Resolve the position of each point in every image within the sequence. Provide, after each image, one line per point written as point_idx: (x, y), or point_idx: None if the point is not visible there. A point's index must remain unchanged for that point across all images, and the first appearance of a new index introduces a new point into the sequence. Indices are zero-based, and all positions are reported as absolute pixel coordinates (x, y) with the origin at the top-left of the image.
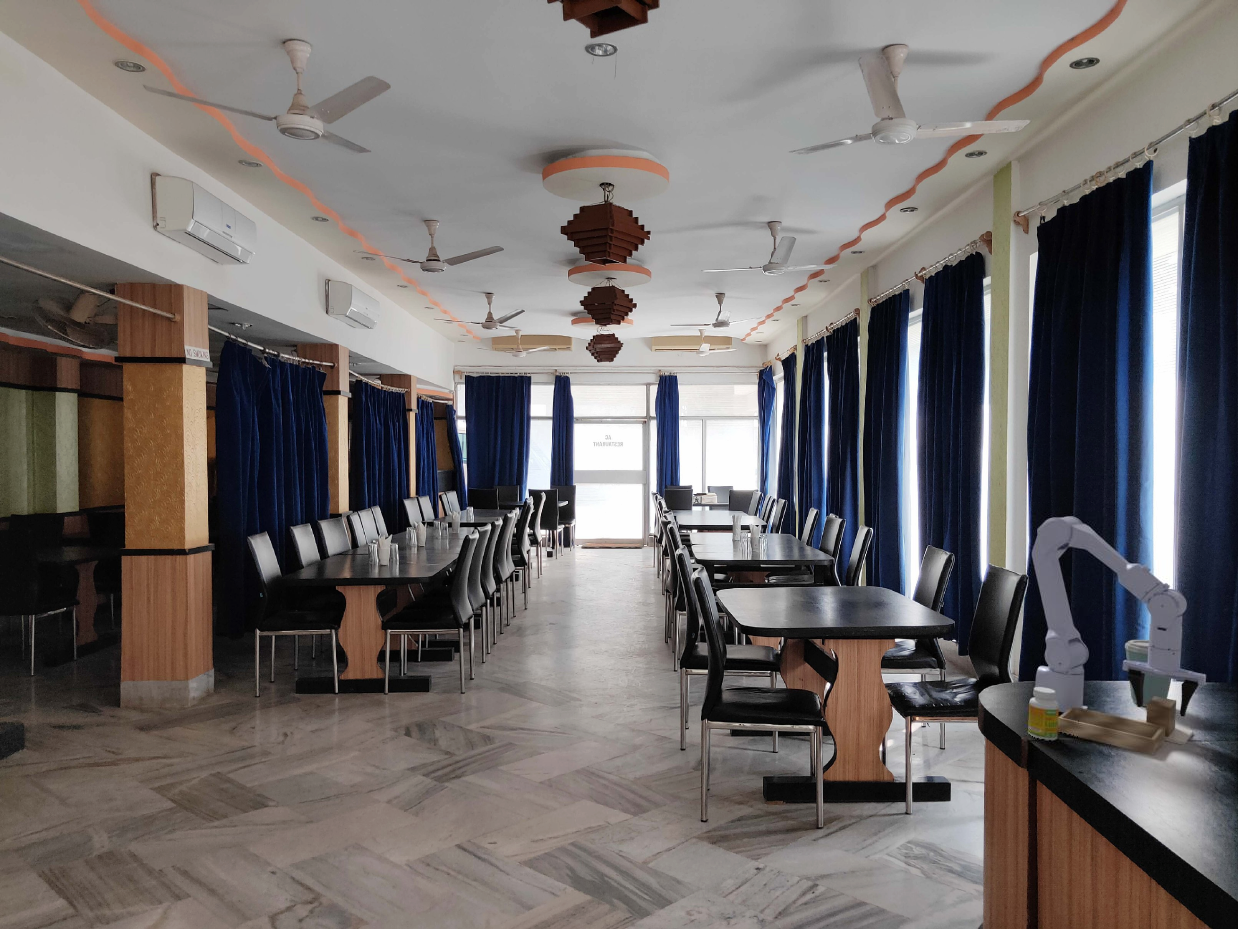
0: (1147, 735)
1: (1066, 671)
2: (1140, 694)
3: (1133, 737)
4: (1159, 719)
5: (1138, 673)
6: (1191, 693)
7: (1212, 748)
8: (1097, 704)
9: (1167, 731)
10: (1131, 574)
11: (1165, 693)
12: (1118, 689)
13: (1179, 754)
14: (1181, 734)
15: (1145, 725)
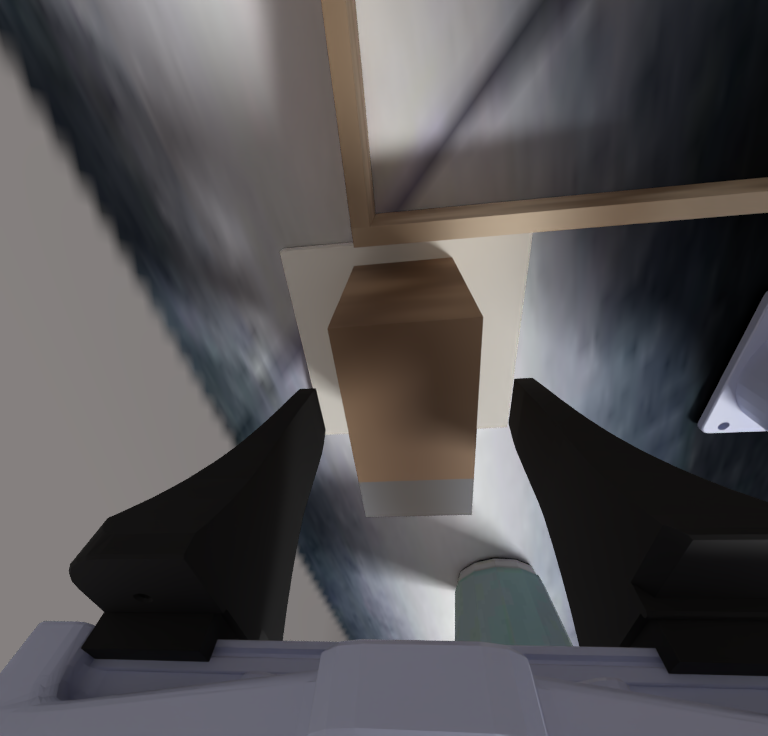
0: (435, 209)
1: None
2: (550, 433)
3: None
4: (393, 289)
5: (683, 626)
6: (160, 494)
7: (206, 306)
8: None
9: (356, 275)
10: None
11: (459, 623)
12: None
13: (225, 18)
14: (332, 356)
15: (454, 218)
